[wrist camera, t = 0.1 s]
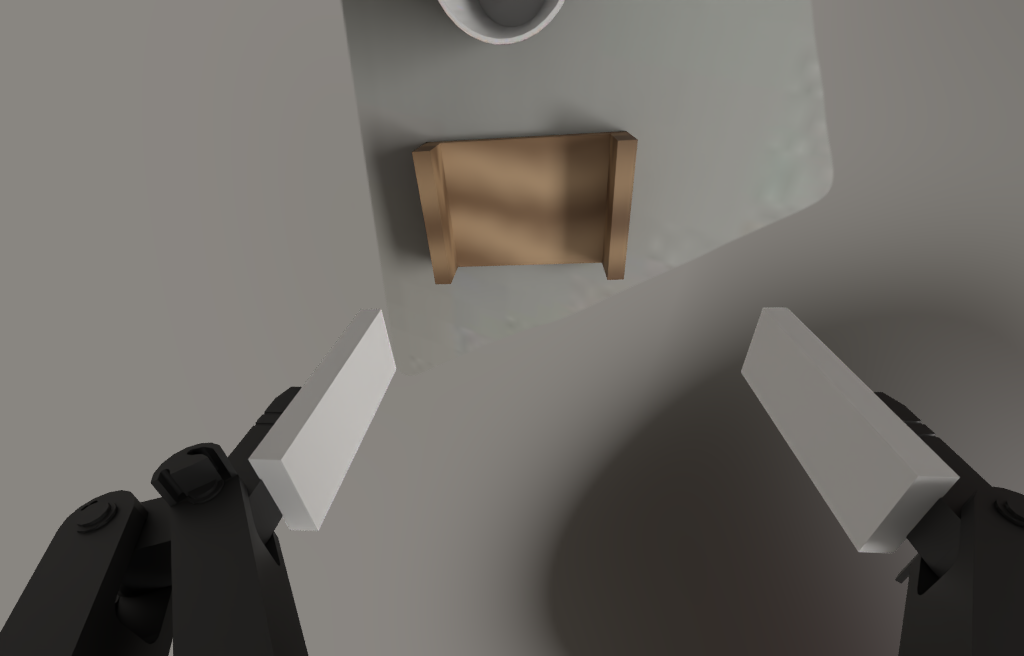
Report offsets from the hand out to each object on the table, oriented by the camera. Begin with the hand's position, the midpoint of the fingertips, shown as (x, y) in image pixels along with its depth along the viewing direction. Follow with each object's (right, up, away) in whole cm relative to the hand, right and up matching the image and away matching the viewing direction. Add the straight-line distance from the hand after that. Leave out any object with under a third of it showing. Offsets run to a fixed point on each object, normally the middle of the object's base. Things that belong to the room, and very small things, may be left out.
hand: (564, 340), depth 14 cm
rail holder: (0, +13, +25) cm, 28 cm away
